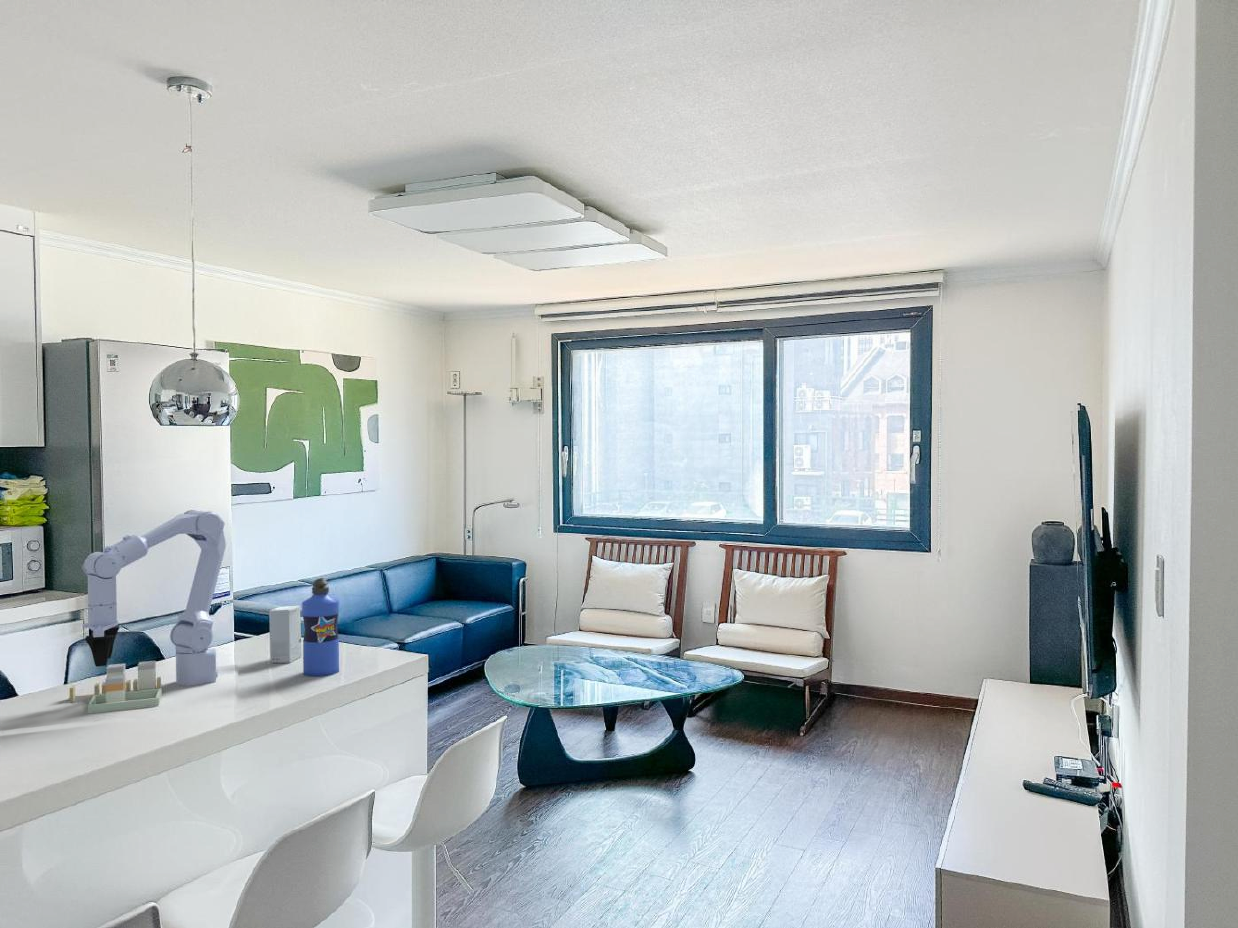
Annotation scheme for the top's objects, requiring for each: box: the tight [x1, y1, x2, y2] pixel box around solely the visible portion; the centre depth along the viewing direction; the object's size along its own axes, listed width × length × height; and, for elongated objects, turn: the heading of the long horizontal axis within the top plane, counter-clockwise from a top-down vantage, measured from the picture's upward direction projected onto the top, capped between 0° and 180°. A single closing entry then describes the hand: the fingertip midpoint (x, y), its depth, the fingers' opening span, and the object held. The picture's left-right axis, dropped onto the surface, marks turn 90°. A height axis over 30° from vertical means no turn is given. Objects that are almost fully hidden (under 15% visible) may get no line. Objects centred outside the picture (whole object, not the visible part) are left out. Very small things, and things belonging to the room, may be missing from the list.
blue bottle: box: [301, 577, 340, 678], centre depth 233 cm, size 9×9×25 cm
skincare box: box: [268, 605, 303, 664], centre depth 247 cm, size 8×6×15 cm
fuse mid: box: [105, 663, 127, 692], centre depth 209 cm, size 4×4×7 cm
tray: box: [87, 688, 163, 714], centre depth 201 cm, size 14×9×3 cm, turn 113°
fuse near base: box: [137, 660, 157, 691], centre depth 211 cm, size 4×4×7 cm
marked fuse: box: [104, 673, 126, 703], centre depth 200 cm, size 4×4×7 cm
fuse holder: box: [64, 676, 165, 705], centre depth 209 cm, size 20×6×4 cm, turn 113°
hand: (103, 662), depth 203 cm, fingers open, 7 cm apart
